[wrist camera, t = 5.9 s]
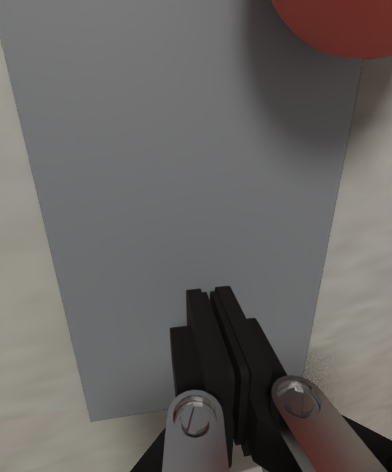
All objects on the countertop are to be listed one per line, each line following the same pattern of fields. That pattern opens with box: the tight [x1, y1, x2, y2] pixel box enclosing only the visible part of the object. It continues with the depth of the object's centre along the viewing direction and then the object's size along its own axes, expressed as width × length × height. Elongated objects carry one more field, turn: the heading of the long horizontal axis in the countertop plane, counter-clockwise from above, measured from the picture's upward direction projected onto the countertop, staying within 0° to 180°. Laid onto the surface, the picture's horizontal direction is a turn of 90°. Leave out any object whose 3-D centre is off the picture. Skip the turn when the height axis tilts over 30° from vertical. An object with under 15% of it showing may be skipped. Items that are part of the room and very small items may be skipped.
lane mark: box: [0, 0, 363, 422], centre depth 10 cm, size 24×11×1 cm, turn 1°
